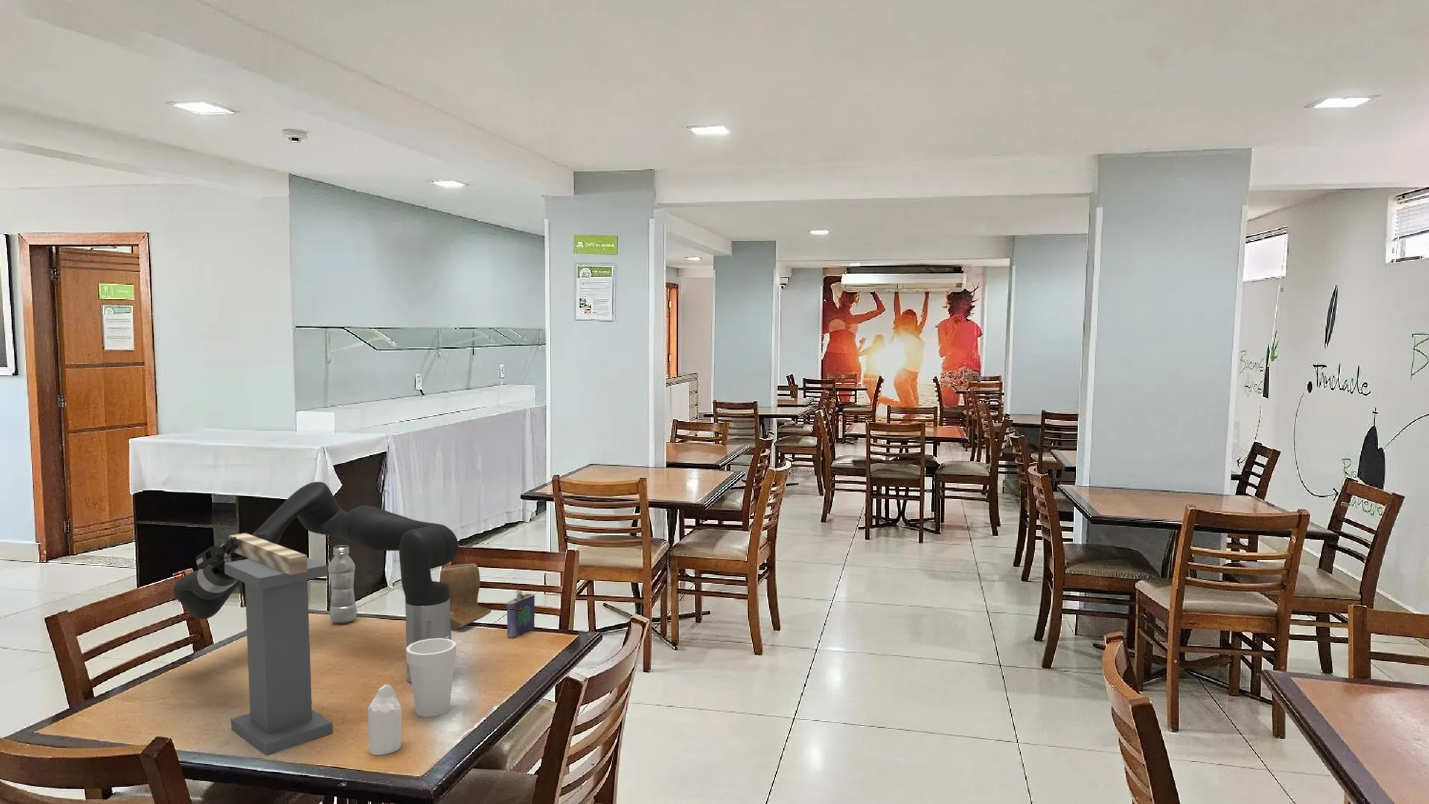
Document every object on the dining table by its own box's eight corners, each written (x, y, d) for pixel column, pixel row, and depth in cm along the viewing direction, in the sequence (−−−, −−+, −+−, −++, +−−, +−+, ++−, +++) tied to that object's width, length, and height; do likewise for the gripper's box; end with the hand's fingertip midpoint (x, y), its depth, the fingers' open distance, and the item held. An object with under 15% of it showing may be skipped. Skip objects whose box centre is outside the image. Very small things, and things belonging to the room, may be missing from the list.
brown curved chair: (459, 611, 238) (458, 556, 237) (497, 615, 234) (496, 560, 233) (423, 628, 224) (422, 570, 223) (463, 633, 220) (461, 574, 219)
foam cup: (406, 704, 176) (404, 642, 175) (454, 697, 180) (452, 635, 179) (410, 723, 168) (408, 657, 167) (459, 715, 171) (458, 650, 170)
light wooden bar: (307, 571, 157) (306, 555, 157) (290, 575, 155) (289, 558, 154) (245, 547, 175) (245, 533, 175) (229, 550, 173) (229, 535, 173)
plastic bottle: (347, 626, 225) (345, 550, 223) (324, 625, 226) (321, 549, 225) (362, 619, 231) (360, 544, 230) (339, 617, 232) (337, 543, 231)
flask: (512, 639, 215) (511, 596, 214) (503, 637, 216) (502, 595, 216) (537, 628, 223) (536, 587, 222) (528, 627, 225) (527, 586, 224)
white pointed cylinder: (381, 675, 160) (407, 678, 159) (383, 739, 161) (409, 742, 160) (359, 688, 155) (386, 691, 153) (361, 753, 156) (388, 757, 154)
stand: (332, 732, 164) (327, 565, 162) (266, 755, 155) (259, 578, 153) (295, 709, 174) (290, 551, 172) (231, 729, 165) (224, 563, 163)
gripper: (179, 558, 176) (204, 527, 166) (254, 546, 187) (282, 515, 176) (187, 593, 174) (213, 564, 164) (262, 579, 185) (291, 550, 174)
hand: (249, 539), depth 170 cm, fingers open, 4 cm apart
